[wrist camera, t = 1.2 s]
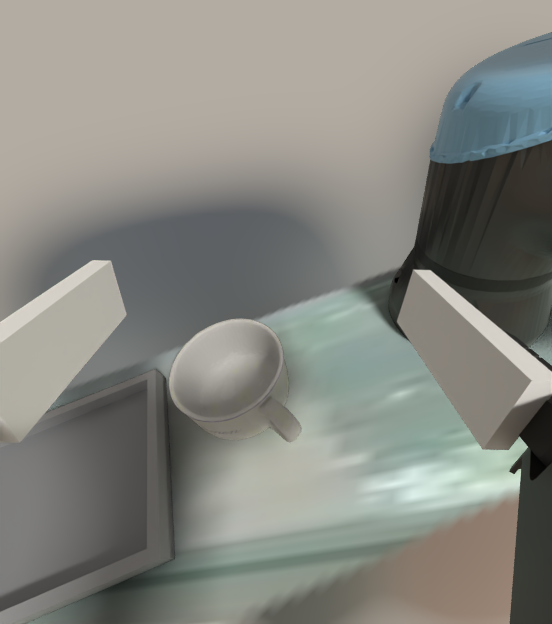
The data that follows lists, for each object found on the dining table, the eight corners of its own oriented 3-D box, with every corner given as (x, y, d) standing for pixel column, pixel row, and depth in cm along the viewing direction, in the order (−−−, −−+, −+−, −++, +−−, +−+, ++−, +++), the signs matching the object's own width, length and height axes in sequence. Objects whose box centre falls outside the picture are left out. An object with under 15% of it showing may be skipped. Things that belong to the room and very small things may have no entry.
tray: (165, 378, 35) (155, 369, 34) (174, 558, 23) (159, 559, 22) (-19, 452, 34) (-41, 447, 32) (-109, 681, 22) (-152, 694, 20)
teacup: (189, 391, 33) (153, 356, 28) (263, 340, 36) (245, 298, 30) (245, 506, 25) (210, 492, 19) (338, 428, 27) (332, 394, 21)
